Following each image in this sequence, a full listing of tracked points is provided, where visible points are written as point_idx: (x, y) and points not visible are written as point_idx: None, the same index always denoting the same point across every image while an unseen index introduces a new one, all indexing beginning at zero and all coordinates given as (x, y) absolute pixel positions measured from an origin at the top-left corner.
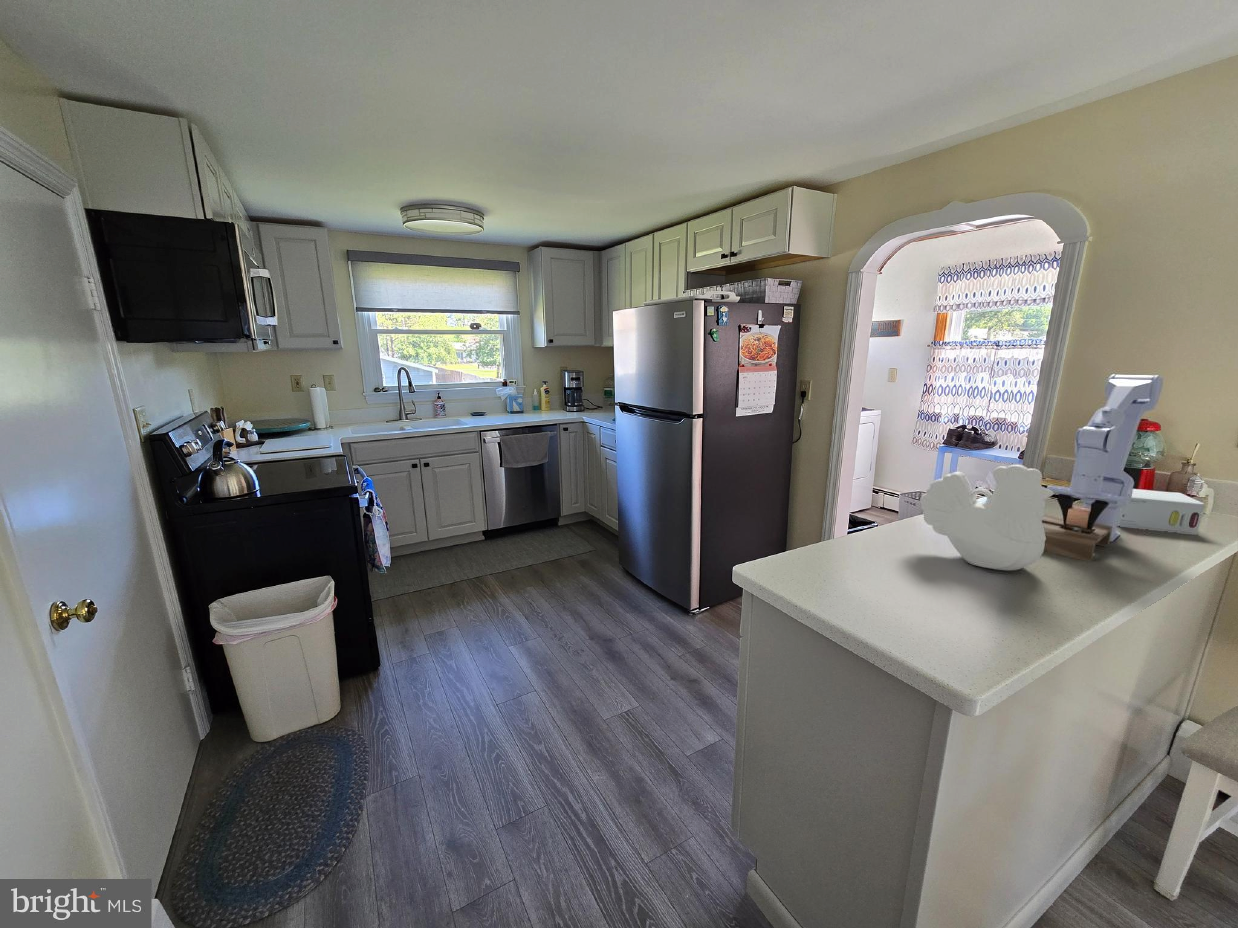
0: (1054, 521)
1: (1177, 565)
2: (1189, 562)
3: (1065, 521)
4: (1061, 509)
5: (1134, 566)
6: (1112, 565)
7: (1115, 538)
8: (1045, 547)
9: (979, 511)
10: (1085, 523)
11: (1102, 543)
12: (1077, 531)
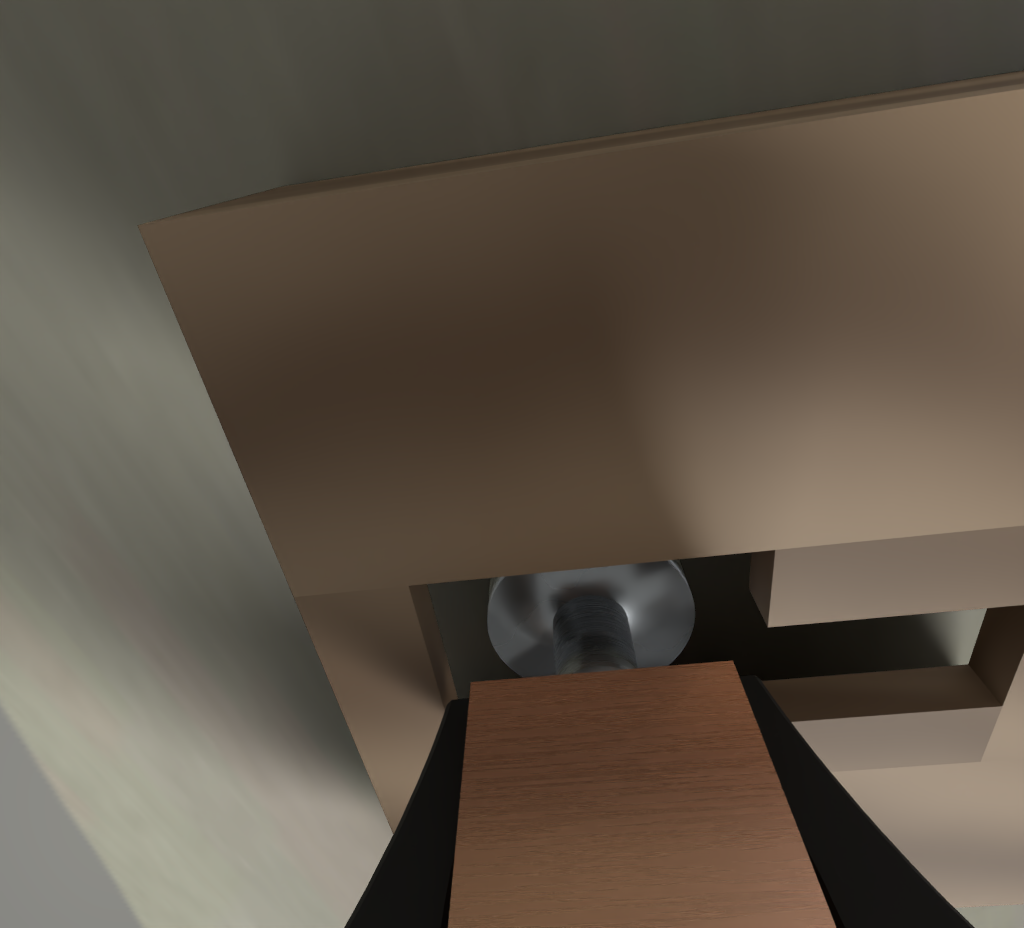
0: (866, 756)
1: (38, 699)
2: (72, 790)
3: (755, 712)
4: (970, 925)
5: (70, 438)
6: (132, 282)
7: None
8: (747, 115)
9: None
10: (487, 738)
11: None
12: (577, 642)
